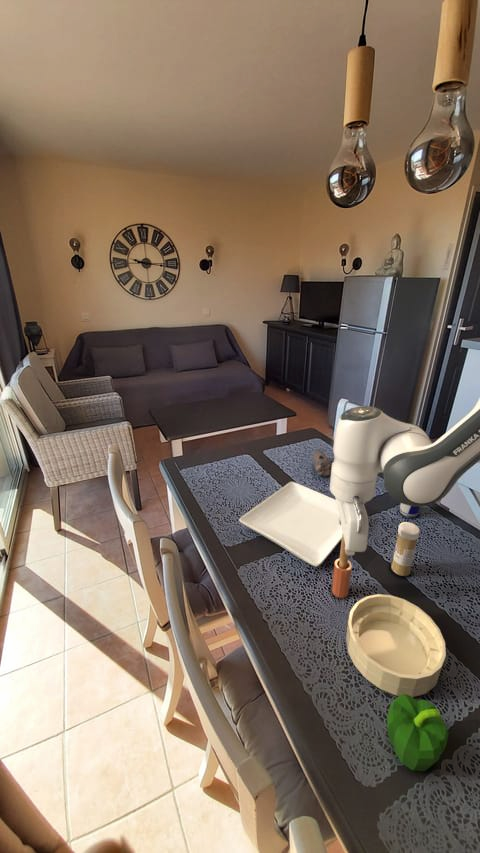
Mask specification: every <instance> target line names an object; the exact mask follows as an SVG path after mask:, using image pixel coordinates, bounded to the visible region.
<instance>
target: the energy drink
mask: <svg viewBox="0 0 480 853" xmlns="http://www.w3.org/2000/svg"><path fill="white" fill-rule="evenodd" d="M420 509H421V506H410V505H405V504H402V503H400V505H399V512H400V513H401V514H402V515H403V516H405V517H406V518H415V517H418V516H419V513H420Z"/></svg>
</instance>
